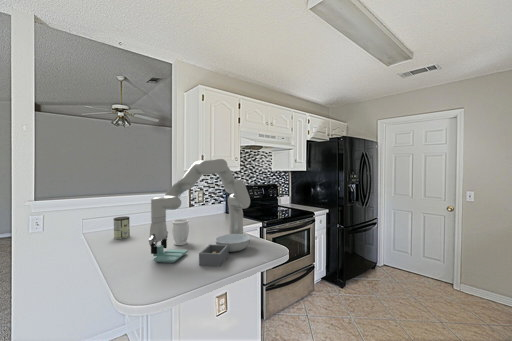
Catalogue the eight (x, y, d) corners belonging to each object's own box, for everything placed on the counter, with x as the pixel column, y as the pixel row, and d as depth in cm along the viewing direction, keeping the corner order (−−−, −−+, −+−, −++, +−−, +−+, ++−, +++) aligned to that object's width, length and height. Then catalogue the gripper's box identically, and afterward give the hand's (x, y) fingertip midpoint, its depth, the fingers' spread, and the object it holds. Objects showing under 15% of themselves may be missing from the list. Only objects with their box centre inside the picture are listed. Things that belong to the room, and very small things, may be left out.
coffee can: (119, 235, 184) (119, 216, 184) (132, 235, 183) (132, 216, 183) (110, 238, 174) (110, 219, 174) (124, 239, 173) (123, 219, 173)
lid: (162, 253, 143) (162, 242, 143) (187, 254, 140) (187, 242, 140) (146, 263, 127) (146, 250, 127) (174, 264, 125) (174, 251, 125)
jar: (184, 246, 154) (183, 222, 154) (169, 245, 156) (168, 222, 156) (191, 241, 165) (191, 219, 165) (177, 240, 167) (177, 218, 167)
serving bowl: (232, 242, 162) (232, 231, 162) (257, 248, 149) (257, 236, 149) (208, 250, 146) (207, 239, 146) (233, 258, 133) (233, 245, 133)
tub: (209, 255, 138) (209, 244, 138) (228, 255, 136) (228, 245, 136) (199, 265, 123) (198, 253, 123) (220, 266, 121) (219, 254, 121)
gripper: (161, 216, 144) (161, 245, 144) (142, 222, 127) (143, 255, 127) (172, 216, 143) (173, 246, 143) (156, 223, 126) (156, 256, 126)
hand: (159, 250), depth 135 cm, fingers open, 9 cm apart
